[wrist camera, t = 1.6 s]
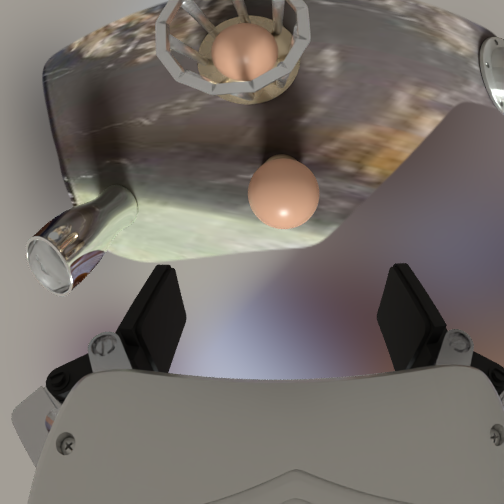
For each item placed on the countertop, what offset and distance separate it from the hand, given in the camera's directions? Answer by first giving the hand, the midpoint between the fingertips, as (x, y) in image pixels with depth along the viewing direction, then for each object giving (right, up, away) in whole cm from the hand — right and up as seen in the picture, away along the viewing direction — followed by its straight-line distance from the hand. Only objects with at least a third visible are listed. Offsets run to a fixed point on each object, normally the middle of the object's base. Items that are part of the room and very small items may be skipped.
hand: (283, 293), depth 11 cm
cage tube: (-2, +22, +11) cm, 24 cm away
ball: (-2, +20, +8) cm, 21 cm away
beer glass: (-19, +8, +21) cm, 29 cm away
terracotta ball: (+1, +7, +11) cm, 13 cm away
